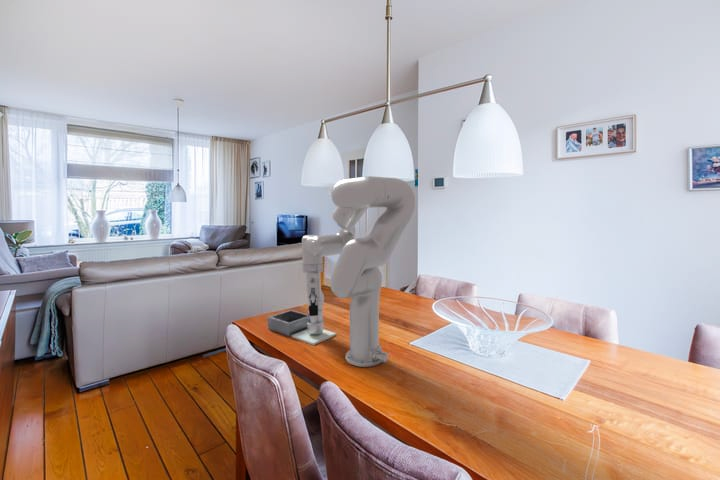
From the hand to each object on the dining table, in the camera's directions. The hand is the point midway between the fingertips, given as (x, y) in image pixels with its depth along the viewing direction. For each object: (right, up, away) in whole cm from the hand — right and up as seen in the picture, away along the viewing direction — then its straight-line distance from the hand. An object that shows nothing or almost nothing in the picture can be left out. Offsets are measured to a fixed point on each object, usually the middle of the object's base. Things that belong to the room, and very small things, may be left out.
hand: (314, 311), depth 128 cm
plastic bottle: (0, -9, +1) cm, 9 cm away
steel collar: (-11, -9, +10) cm, 17 cm away
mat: (0, -10, +1) cm, 10 cm away
